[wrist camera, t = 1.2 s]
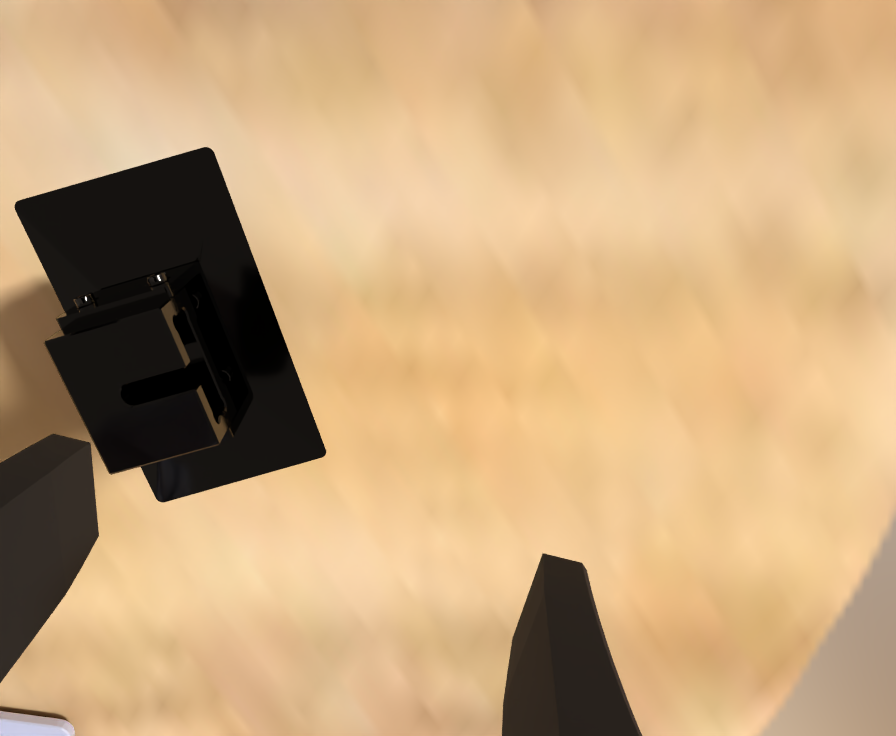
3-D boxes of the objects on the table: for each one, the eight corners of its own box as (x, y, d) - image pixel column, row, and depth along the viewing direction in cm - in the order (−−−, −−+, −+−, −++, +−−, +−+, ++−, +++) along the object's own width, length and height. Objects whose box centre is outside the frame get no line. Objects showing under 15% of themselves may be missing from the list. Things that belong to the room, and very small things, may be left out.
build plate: (371, 482, 25) (359, 572, 20) (154, 539, 25) (98, 639, 21) (221, 77, 20) (167, 83, 16) (-38, 157, 21) (-159, 184, 17)
